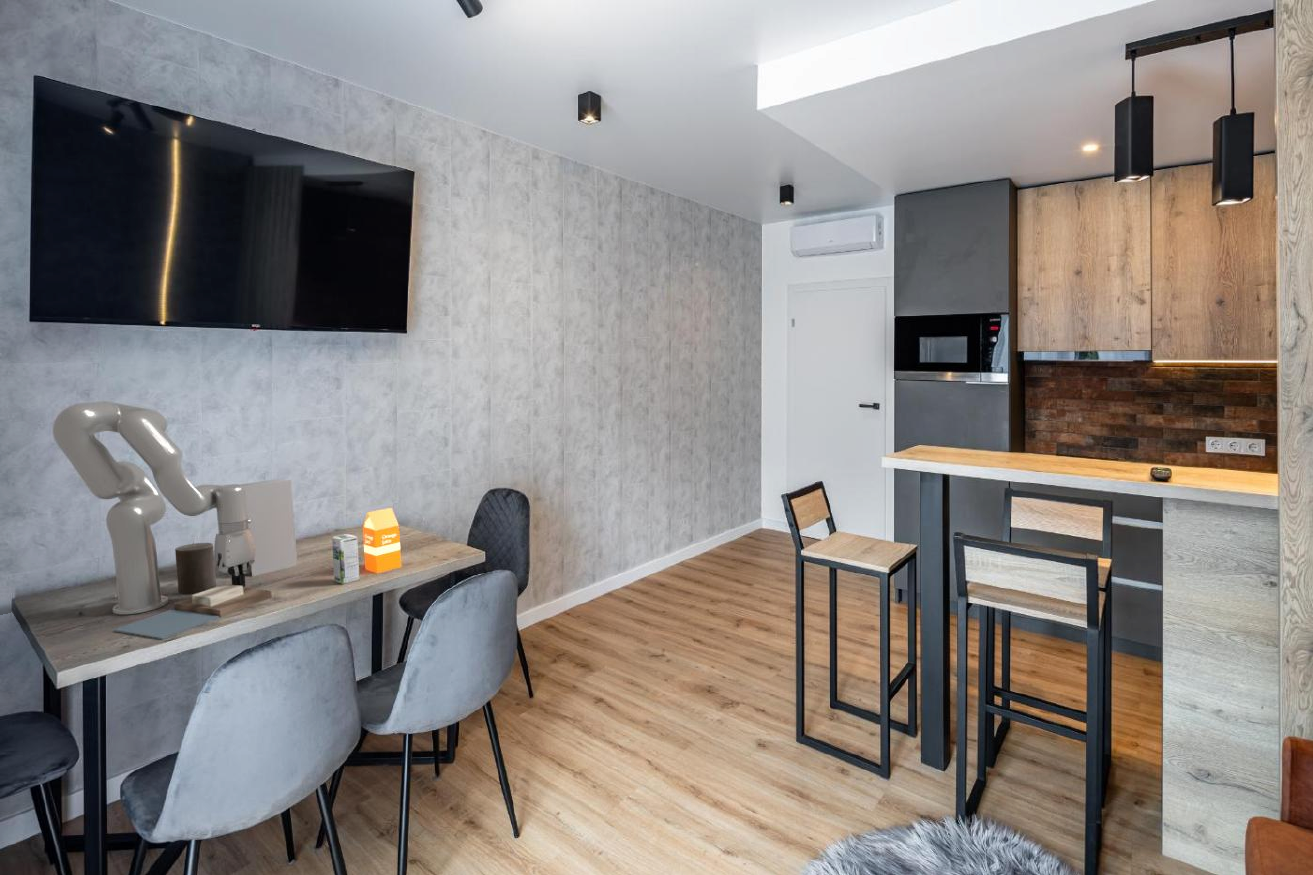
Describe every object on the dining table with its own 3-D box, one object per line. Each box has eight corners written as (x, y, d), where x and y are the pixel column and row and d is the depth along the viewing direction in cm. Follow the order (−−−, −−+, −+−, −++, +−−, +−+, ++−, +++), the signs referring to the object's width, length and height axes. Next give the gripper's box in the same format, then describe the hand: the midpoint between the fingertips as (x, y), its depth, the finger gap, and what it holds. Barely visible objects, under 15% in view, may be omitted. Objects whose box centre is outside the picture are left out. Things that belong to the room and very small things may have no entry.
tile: (192, 603, 185) (191, 595, 185) (225, 592, 195) (225, 583, 194) (210, 606, 183) (210, 597, 183) (243, 594, 192) (242, 586, 192)
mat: (114, 631, 171) (113, 629, 171) (172, 610, 186) (172, 609, 186) (162, 639, 166) (162, 637, 166) (218, 617, 180) (218, 616, 180)
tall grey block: (291, 562, 230) (284, 478, 227) (297, 565, 226) (291, 480, 223) (245, 573, 219) (238, 484, 216) (252, 576, 216) (244, 486, 212)
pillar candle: (197, 595, 198) (193, 547, 196) (170, 593, 200) (166, 545, 198) (224, 585, 207) (220, 538, 206) (198, 583, 209) (194, 537, 208)
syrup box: (333, 581, 209) (330, 536, 208) (351, 576, 214) (348, 532, 212) (342, 584, 206) (339, 539, 204) (360, 579, 210) (357, 535, 209)
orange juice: (365, 569, 221) (361, 511, 219) (389, 562, 228) (386, 506, 226) (377, 573, 217) (373, 514, 214) (401, 566, 223) (398, 509, 221)
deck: (174, 610, 186) (173, 603, 186) (227, 591, 201) (226, 585, 201) (220, 617, 180) (219, 610, 180) (271, 597, 195) (271, 590, 195)
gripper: (246, 520, 201) (251, 578, 203) (199, 532, 187) (205, 594, 189) (265, 521, 199) (270, 580, 201) (219, 533, 185) (224, 596, 187)
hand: (239, 587), depth 195 cm, fingers closed
